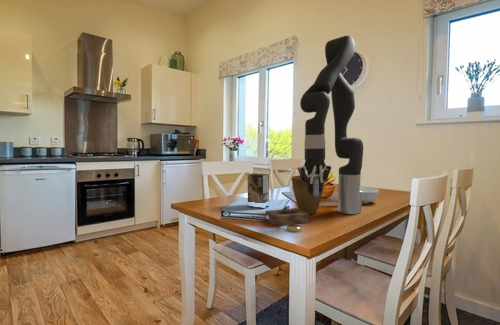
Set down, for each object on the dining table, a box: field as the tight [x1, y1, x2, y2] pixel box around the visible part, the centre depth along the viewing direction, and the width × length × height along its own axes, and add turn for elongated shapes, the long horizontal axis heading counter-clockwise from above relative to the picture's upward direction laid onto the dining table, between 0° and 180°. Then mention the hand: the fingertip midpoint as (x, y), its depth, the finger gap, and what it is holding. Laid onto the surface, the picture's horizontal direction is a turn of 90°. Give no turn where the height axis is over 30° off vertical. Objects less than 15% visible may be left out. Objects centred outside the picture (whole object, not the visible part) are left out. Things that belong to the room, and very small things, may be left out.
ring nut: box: [286, 224, 303, 233], centre depth 98 cm, size 5×5×2 cm
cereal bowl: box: [360, 186, 379, 205], centre depth 145 cm, size 17×17×7 cm
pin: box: [311, 177, 319, 197], centre depth 103 cm, size 3×3×7 cm
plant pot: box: [290, 175, 326, 215], centre depth 123 cm, size 15×15×16 cm
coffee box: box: [247, 172, 270, 203], centre depth 133 cm, size 9×6×16 cm
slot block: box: [265, 207, 310, 227], centre depth 109 cm, size 14×10×4 cm
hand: (314, 192), depth 103 cm, fingers closed on pin, 3 cm apart
